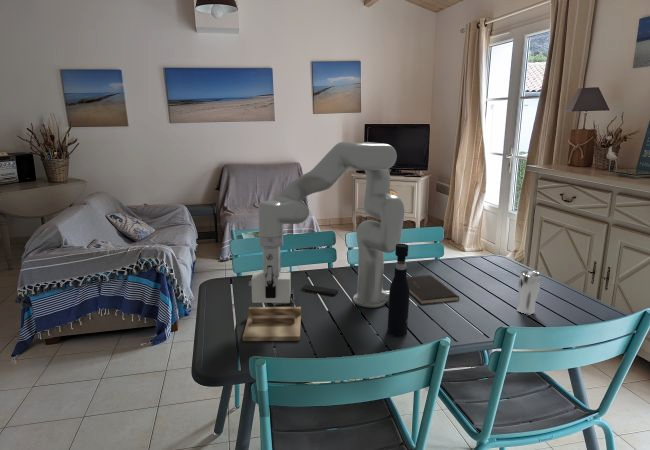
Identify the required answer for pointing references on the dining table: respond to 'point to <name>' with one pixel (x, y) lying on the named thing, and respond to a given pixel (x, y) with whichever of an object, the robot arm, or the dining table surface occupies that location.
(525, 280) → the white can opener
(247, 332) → the cleat board
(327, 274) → the dining table surface
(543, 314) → the dining table surface
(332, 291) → the remote control
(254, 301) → the light grey block
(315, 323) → the dining table surface
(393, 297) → the black bottle
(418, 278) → the hardcover book
